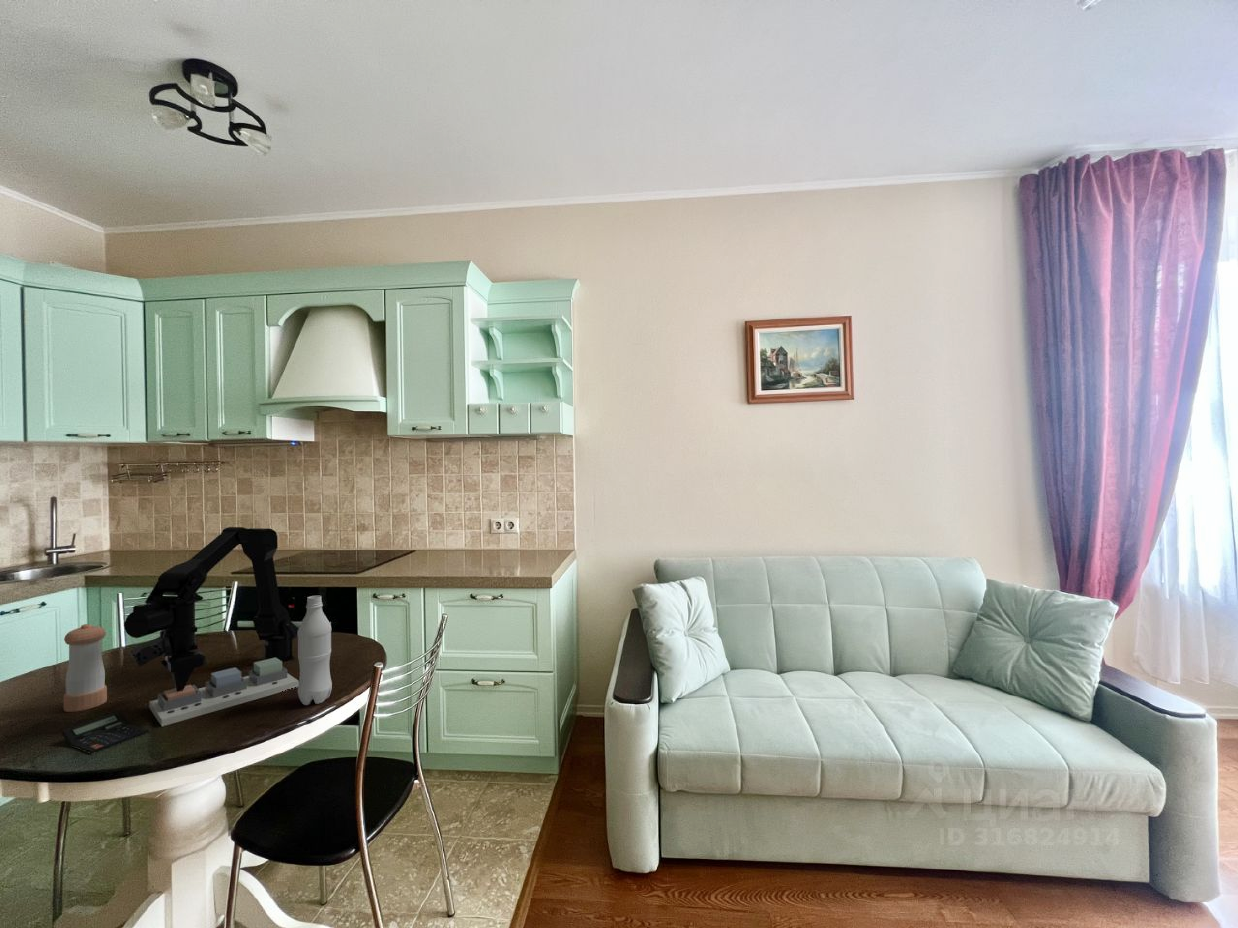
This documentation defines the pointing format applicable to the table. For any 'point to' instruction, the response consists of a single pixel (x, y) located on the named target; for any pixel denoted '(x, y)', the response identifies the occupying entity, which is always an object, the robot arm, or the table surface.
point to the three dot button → (178, 693)
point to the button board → (220, 696)
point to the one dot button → (267, 666)
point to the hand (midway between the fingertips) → (179, 690)
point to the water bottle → (314, 654)
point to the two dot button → (225, 677)
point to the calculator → (102, 733)
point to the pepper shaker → (85, 669)
